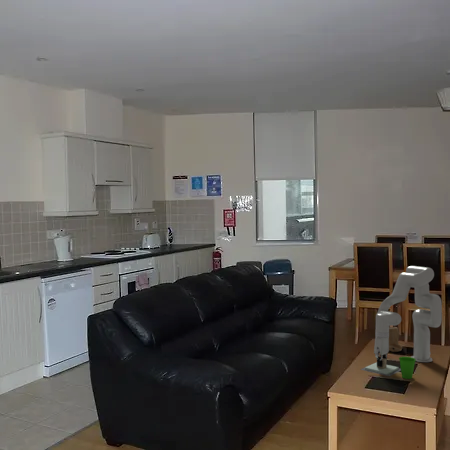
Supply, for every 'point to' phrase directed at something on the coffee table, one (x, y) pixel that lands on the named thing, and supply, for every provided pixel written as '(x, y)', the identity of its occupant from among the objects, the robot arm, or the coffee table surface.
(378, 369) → the lid
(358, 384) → the coffee table surface
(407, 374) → the cup
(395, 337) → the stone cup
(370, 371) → the mat
